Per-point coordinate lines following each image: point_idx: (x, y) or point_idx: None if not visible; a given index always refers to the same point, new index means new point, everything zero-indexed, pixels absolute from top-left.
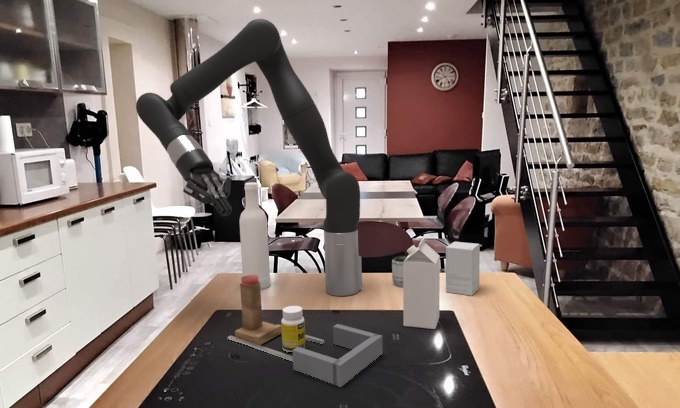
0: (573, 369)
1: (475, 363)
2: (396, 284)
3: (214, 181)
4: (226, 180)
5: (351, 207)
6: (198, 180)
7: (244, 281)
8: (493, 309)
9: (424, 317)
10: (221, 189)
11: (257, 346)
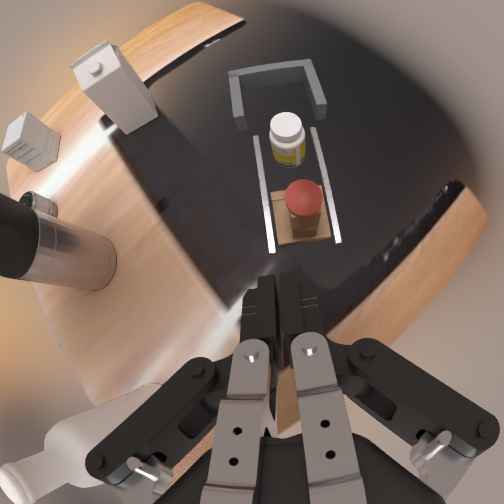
0: (171, 21)
1: (198, 45)
2: (55, 215)
3: (255, 461)
4: (123, 461)
5: None
6: (396, 491)
7: (321, 192)
8: (85, 102)
9: (148, 93)
10: (232, 395)
11: (328, 181)
